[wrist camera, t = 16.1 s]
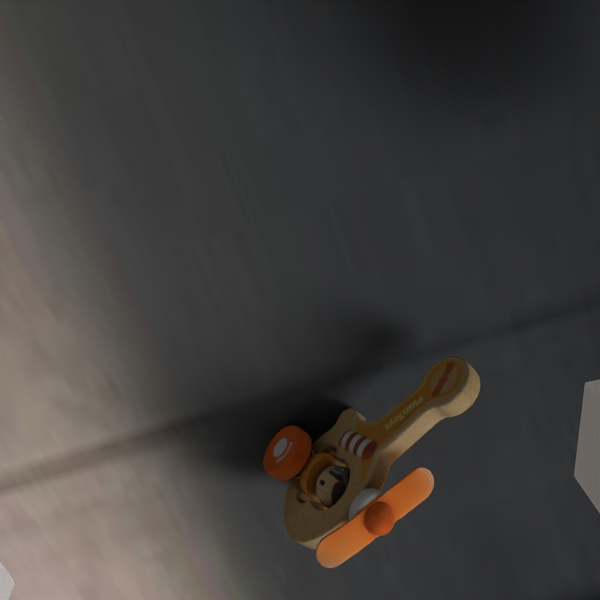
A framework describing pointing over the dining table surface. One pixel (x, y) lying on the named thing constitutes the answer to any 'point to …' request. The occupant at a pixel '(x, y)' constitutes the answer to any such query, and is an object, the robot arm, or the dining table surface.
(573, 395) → the dining table surface
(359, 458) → the toy helicopter
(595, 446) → the robot arm
